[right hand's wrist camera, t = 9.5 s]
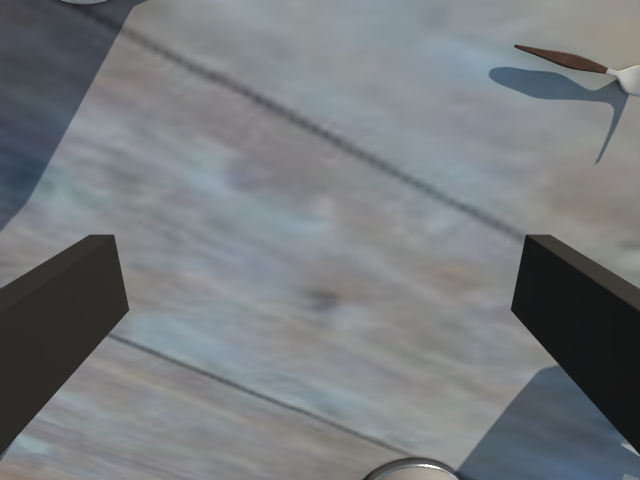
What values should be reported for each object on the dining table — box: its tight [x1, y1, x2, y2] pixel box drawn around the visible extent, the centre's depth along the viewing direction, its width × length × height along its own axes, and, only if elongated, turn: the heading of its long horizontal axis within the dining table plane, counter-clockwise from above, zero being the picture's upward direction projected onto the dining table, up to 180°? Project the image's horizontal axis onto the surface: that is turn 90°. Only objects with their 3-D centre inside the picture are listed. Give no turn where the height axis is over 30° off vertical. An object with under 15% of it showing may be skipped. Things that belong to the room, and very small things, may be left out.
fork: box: [514, 45, 640, 96], centre depth 35 cm, size 3×16×2 cm, turn 77°
